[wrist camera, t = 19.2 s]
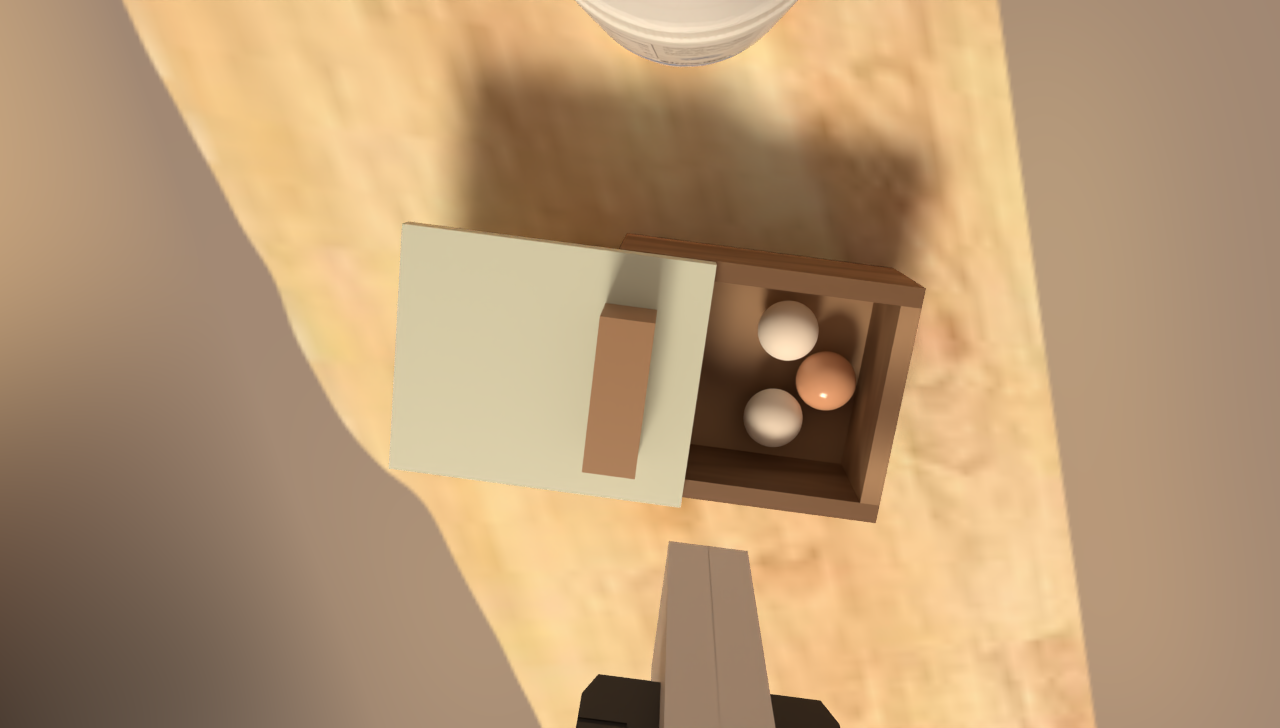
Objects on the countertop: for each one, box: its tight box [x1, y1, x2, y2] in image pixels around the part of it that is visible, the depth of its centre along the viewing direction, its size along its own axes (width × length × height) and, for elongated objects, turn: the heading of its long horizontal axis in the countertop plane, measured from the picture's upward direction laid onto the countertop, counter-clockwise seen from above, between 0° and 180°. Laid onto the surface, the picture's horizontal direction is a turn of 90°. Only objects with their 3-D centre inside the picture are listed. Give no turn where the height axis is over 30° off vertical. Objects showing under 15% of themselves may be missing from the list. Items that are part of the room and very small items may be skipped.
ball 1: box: [758, 300, 819, 361], centre depth 38 cm, size 3×3×3 cm
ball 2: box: [743, 389, 803, 447], centre depth 39 cm, size 3×3×3 cm
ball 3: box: [796, 351, 856, 411], centre depth 38 cm, size 3×3×3 cm
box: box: [619, 233, 926, 523], centre depth 38 cm, size 10×12×5 cm
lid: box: [389, 222, 717, 508], centre depth 33 cm, size 10×12×3 cm
